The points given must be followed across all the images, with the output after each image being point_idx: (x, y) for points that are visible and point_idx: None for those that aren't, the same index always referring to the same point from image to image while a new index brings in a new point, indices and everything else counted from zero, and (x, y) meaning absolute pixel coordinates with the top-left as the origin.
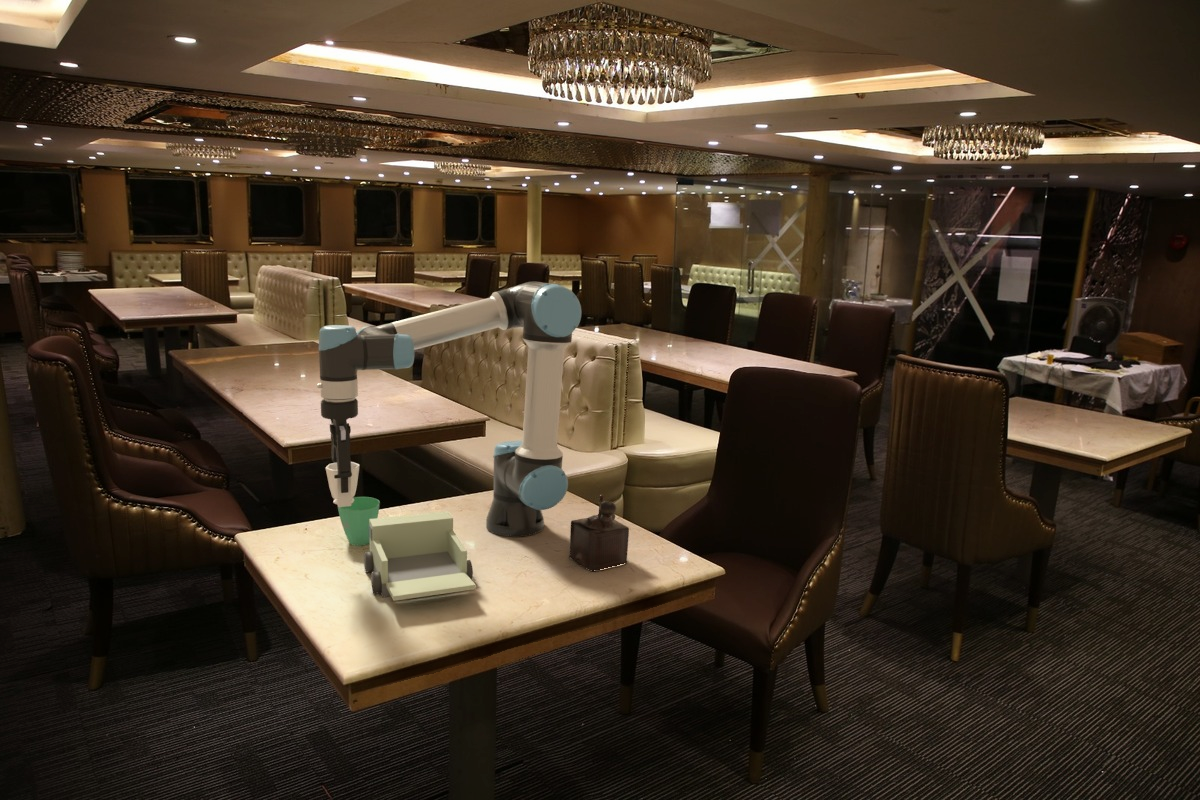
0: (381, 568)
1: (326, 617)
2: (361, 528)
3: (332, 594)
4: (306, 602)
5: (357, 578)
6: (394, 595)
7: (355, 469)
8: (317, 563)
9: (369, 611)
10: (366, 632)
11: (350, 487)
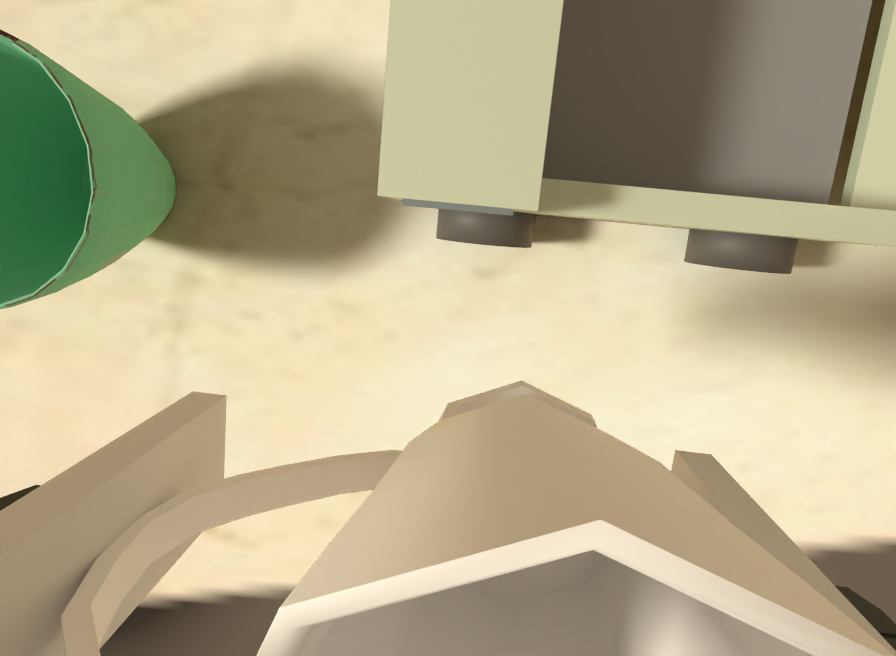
0: (845, 242)
1: (840, 471)
2: (152, 187)
3: (650, 412)
4: None
5: (541, 288)
6: None
7: None
8: (318, 404)
9: (880, 317)
10: None
11: (818, 577)
